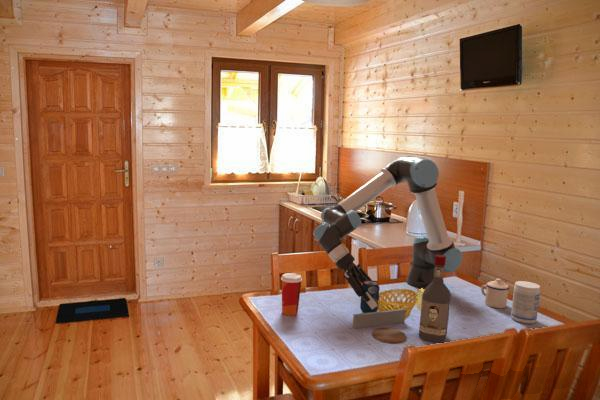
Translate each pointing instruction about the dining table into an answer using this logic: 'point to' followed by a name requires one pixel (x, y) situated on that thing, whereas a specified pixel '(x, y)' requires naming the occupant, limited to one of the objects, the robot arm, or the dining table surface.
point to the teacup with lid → (496, 293)
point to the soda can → (373, 290)
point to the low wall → (378, 318)
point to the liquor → (435, 306)
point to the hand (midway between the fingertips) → (377, 304)
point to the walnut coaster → (389, 335)
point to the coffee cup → (290, 293)
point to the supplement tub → (525, 302)
